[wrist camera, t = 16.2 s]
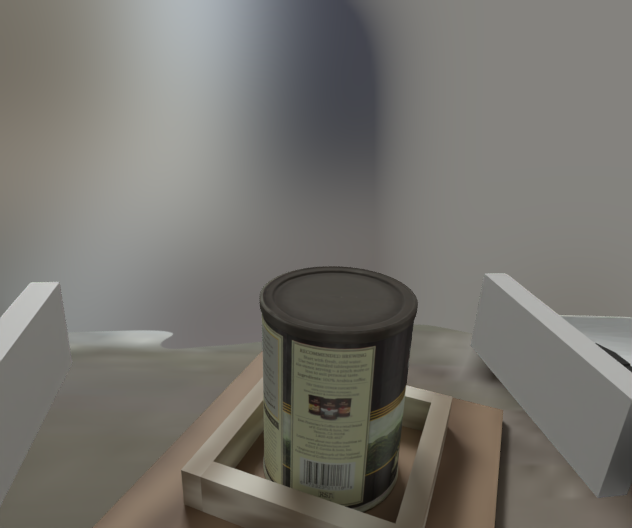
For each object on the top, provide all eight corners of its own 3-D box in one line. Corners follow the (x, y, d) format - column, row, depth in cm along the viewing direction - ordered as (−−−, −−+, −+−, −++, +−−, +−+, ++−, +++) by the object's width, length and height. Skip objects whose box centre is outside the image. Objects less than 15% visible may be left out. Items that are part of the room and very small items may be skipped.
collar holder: (89, 544, 32) (80, 496, 31) (262, 358, 53) (262, 325, 51) (477, 719, 24) (491, 666, 23) (501, 419, 45) (509, 381, 43)
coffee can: (362, 407, 44) (374, 258, 39) (424, 497, 35) (450, 318, 30) (247, 431, 41) (244, 272, 36) (283, 537, 32) (285, 344, 27)
